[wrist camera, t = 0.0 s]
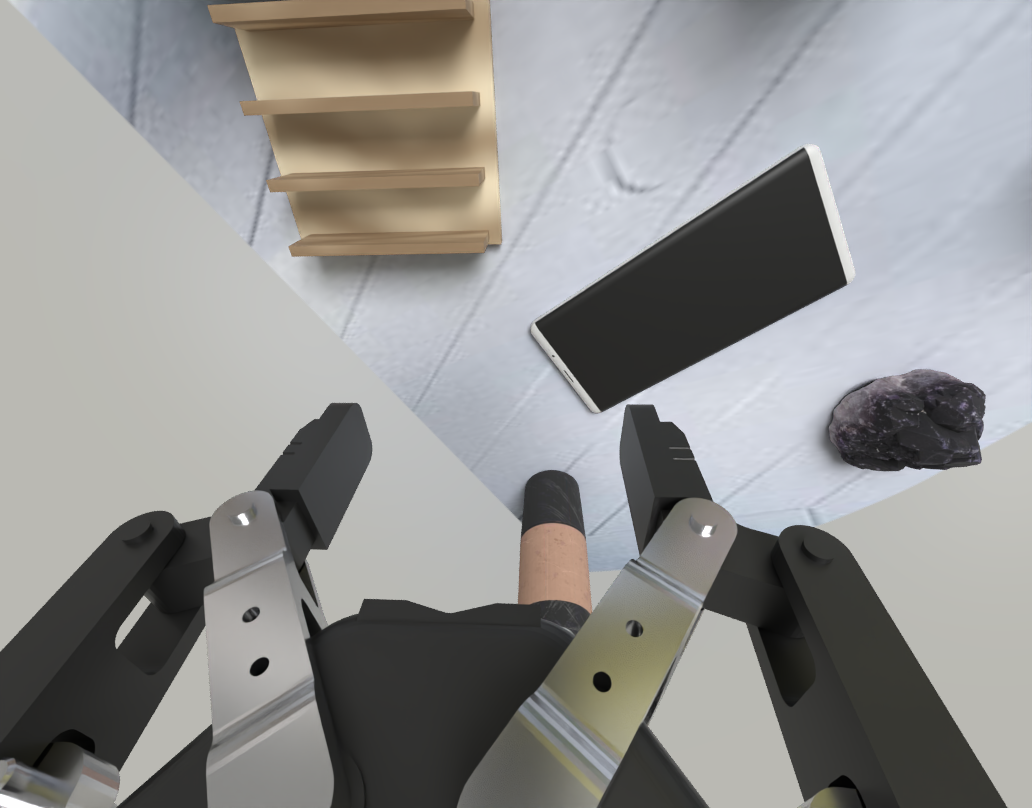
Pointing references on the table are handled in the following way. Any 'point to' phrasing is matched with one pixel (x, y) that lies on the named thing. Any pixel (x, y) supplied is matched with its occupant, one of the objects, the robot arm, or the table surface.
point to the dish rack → (377, 120)
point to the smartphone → (703, 284)
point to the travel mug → (554, 551)
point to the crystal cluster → (910, 423)
